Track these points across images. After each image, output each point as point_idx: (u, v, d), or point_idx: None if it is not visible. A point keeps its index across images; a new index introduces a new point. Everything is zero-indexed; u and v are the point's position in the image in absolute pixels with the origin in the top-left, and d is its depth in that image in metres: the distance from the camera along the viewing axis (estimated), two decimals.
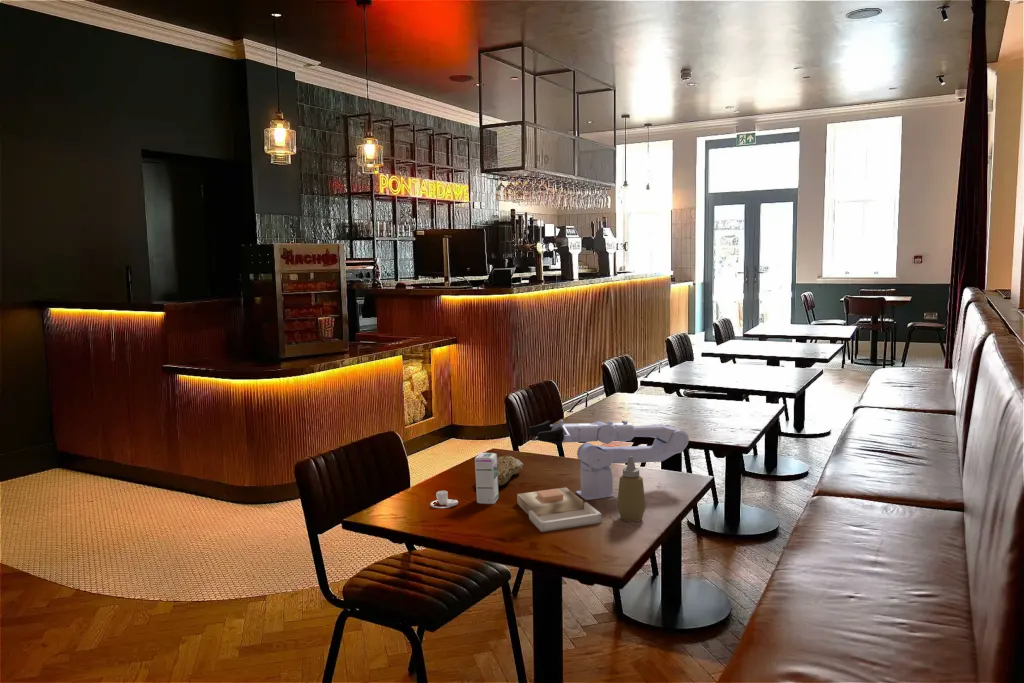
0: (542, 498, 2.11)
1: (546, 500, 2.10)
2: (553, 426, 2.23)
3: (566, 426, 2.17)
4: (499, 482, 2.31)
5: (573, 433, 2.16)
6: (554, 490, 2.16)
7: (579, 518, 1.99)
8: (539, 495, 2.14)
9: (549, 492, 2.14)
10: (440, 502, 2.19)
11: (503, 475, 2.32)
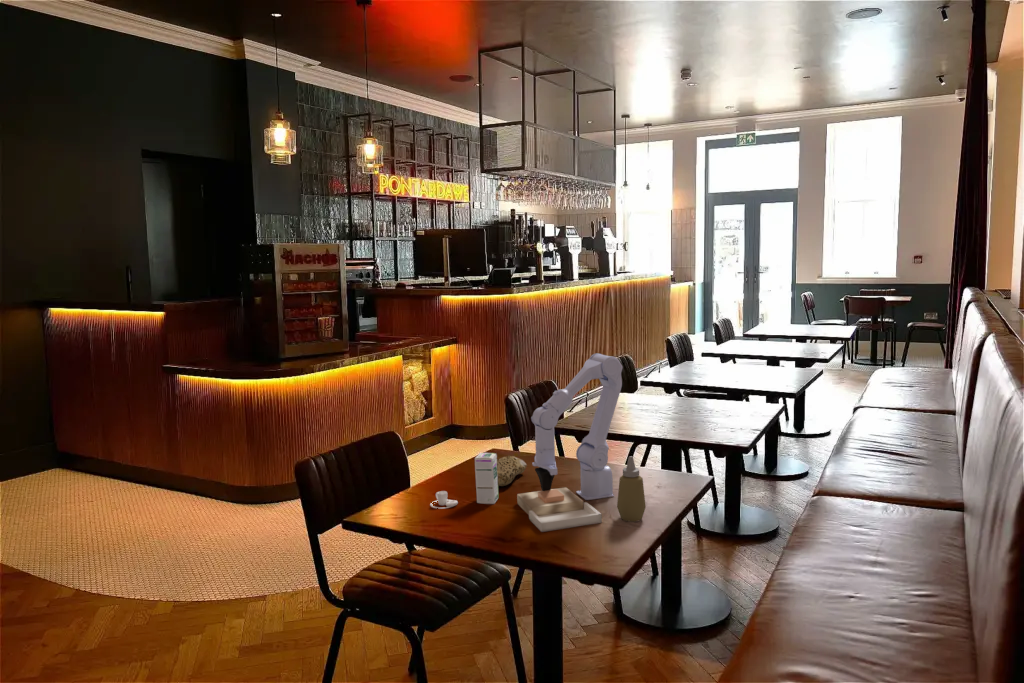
0: (543, 499, 2.11)
1: (547, 501, 2.10)
2: None
3: (539, 461, 2.13)
4: (503, 482, 2.31)
5: (547, 455, 2.13)
6: (555, 491, 2.15)
7: (579, 518, 1.99)
8: (540, 496, 2.13)
9: (549, 492, 2.14)
10: (440, 502, 2.19)
11: (507, 475, 2.32)
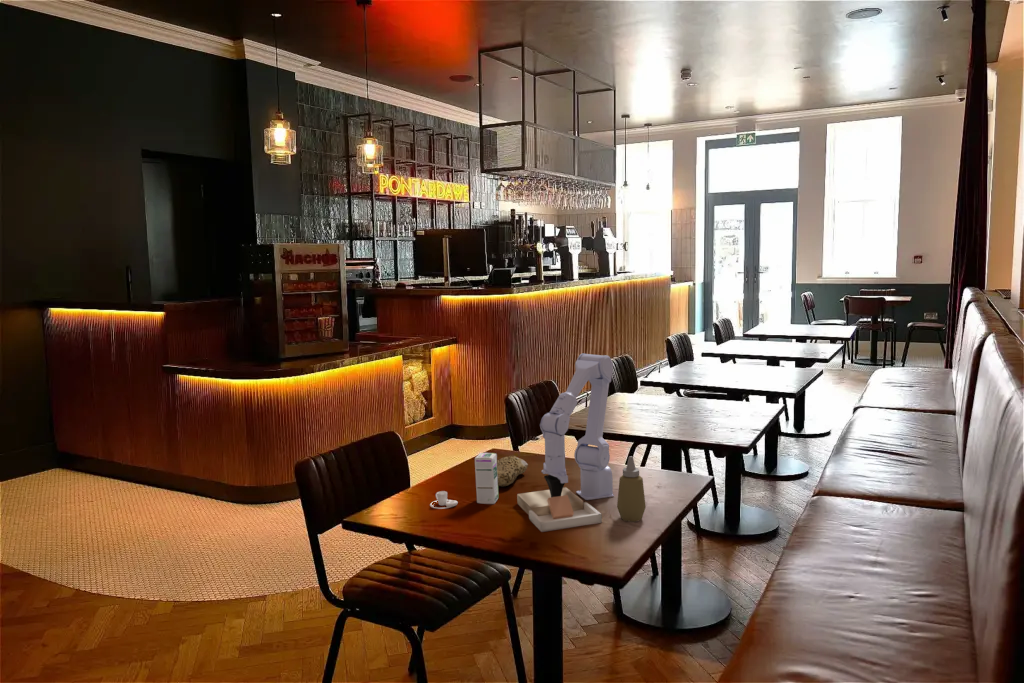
0: (552, 513, 2.04)
1: (555, 517, 2.04)
2: None
3: (549, 469, 2.06)
4: (505, 482, 2.31)
5: (557, 463, 2.05)
6: (565, 499, 2.07)
7: (579, 518, 1.99)
8: (549, 505, 2.06)
9: (560, 503, 2.06)
10: (440, 503, 2.19)
11: (509, 475, 2.32)
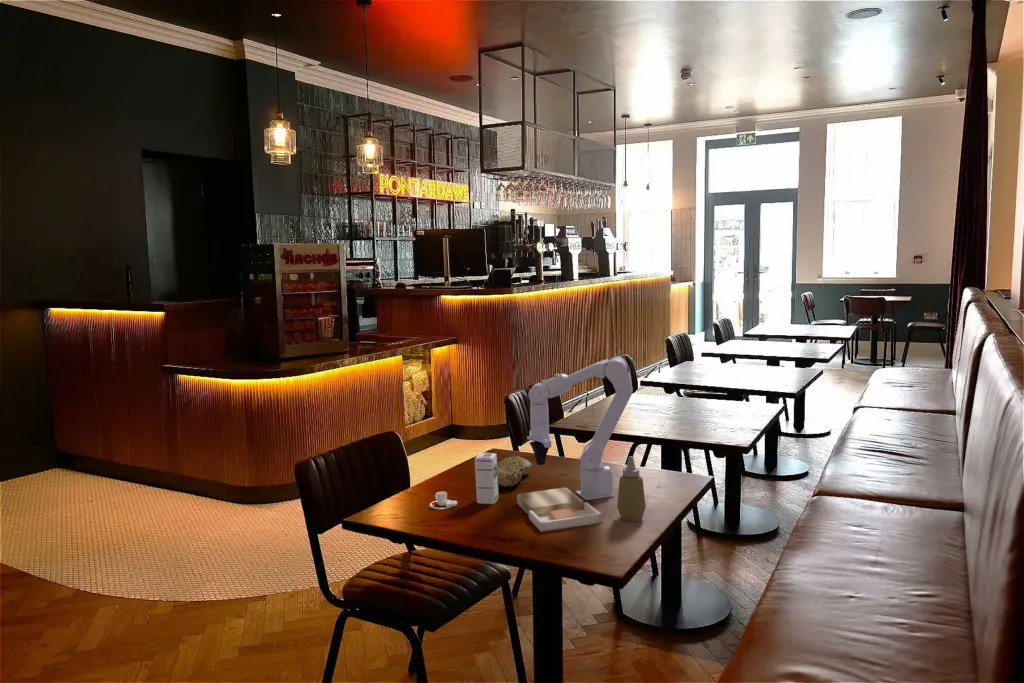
0: (555, 519, 2.02)
1: None
2: None
3: (534, 435, 2.22)
4: (511, 483, 2.30)
5: (541, 429, 2.22)
6: (567, 510, 2.06)
7: (579, 518, 1.99)
8: (552, 515, 2.04)
9: (562, 512, 2.05)
10: (439, 503, 2.18)
11: (514, 476, 2.31)
